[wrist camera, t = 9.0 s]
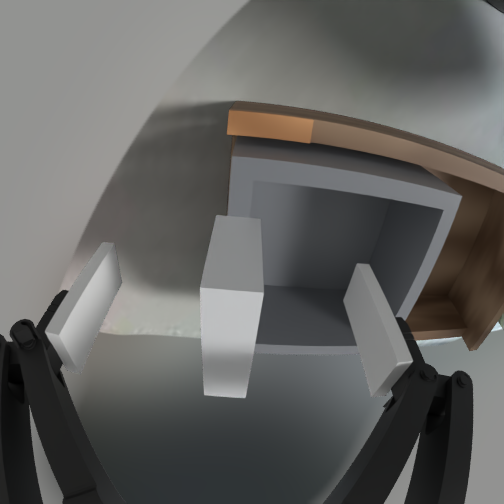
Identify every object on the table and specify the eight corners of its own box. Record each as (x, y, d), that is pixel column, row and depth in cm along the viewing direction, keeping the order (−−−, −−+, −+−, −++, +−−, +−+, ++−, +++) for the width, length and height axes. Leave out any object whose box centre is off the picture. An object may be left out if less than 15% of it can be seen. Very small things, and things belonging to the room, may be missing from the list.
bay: (236, 100, 18) (225, 114, 11) (502, 167, 19) (557, 206, 12) (223, 286, 27) (214, 358, 20) (446, 297, 28) (476, 349, 21)
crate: (231, 127, 18) (199, 205, 8) (407, 156, 18) (519, 247, 8) (221, 283, 24) (205, 416, 14) (362, 292, 25) (403, 409, 15)
